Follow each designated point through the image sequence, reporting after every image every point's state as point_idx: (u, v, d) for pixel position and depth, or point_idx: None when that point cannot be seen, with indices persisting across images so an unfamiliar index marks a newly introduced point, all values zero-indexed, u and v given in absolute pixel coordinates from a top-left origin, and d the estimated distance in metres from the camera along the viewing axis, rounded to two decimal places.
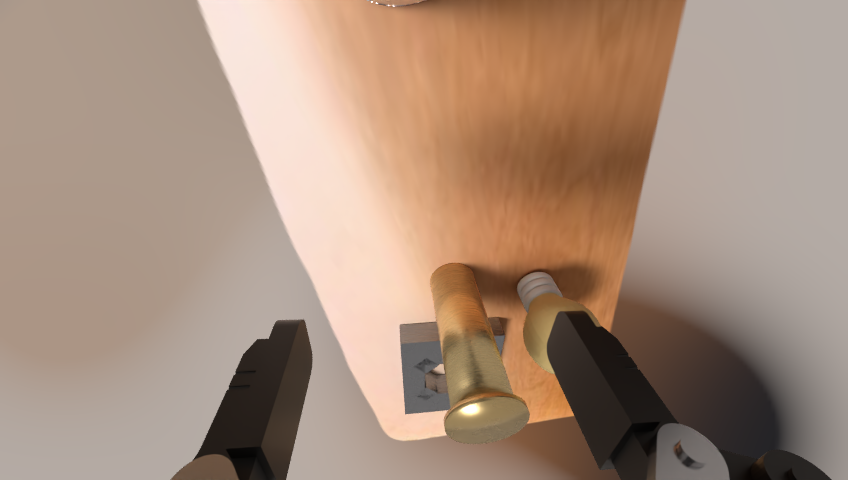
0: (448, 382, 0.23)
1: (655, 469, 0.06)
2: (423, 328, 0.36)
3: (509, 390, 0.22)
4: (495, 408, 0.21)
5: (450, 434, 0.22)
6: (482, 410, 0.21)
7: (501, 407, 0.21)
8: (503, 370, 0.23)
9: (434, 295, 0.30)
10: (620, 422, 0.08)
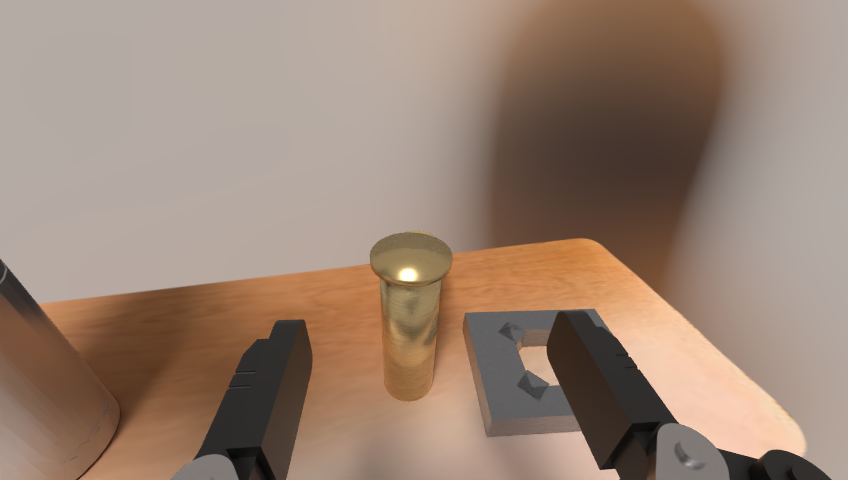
0: (405, 306, 0.22)
1: (655, 469, 0.06)
2: (481, 401, 0.28)
3: None
4: (384, 251, 0.23)
5: (428, 276, 0.21)
6: (385, 258, 0.22)
7: (383, 248, 0.23)
8: None
9: (402, 382, 0.27)
10: (620, 422, 0.08)
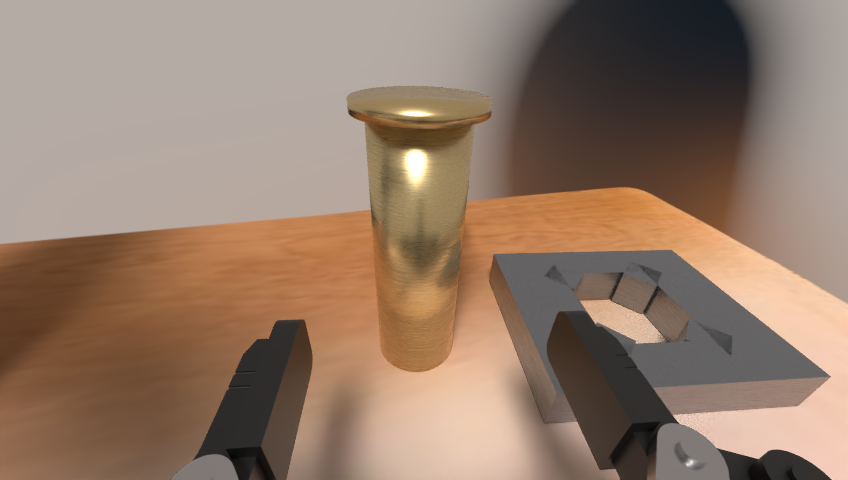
0: (411, 187, 0.13)
1: (655, 469, 0.06)
2: (529, 369, 0.18)
3: None
4: (373, 95, 0.13)
5: (454, 110, 0.11)
6: (374, 98, 0.12)
7: (371, 93, 0.13)
8: None
9: (407, 339, 0.17)
10: (620, 422, 0.08)
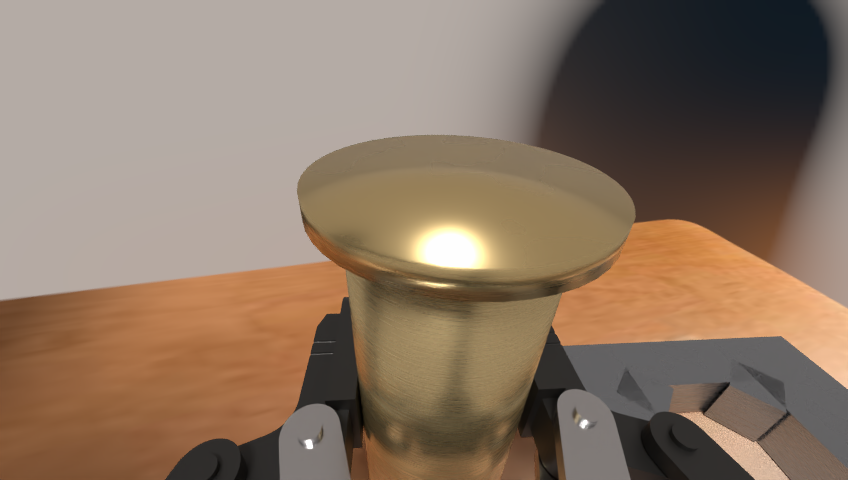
0: (442, 379, 0.06)
1: (561, 442, 0.07)
2: None
3: None
4: (360, 168, 0.06)
5: (574, 244, 0.04)
6: (362, 186, 0.05)
7: (356, 162, 0.06)
8: None
9: None
10: (532, 390, 0.08)
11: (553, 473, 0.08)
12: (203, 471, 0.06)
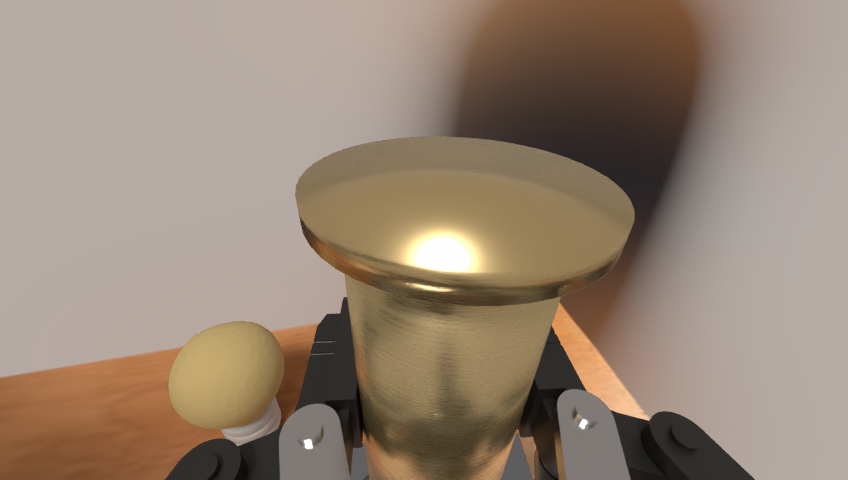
0: (441, 382, 0.06)
1: (561, 442, 0.07)
2: None
3: None
4: (359, 171, 0.06)
5: (573, 249, 0.04)
6: (360, 188, 0.05)
7: (355, 165, 0.06)
8: None
9: None
10: (532, 390, 0.08)
11: (553, 473, 0.08)
12: (203, 471, 0.06)
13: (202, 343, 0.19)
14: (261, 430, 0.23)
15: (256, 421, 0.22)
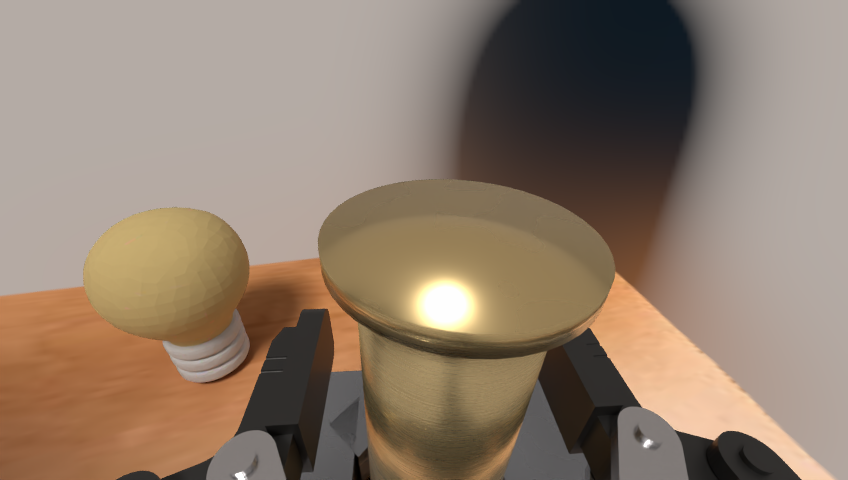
0: (444, 414, 0.06)
1: (618, 455, 0.07)
2: None
3: None
4: (372, 221, 0.07)
5: (560, 308, 0.05)
6: (375, 242, 0.06)
7: (368, 214, 0.07)
8: None
9: None
10: (586, 406, 0.08)
11: None
12: None
13: (132, 219, 0.15)
14: (219, 355, 0.18)
15: (211, 341, 0.17)
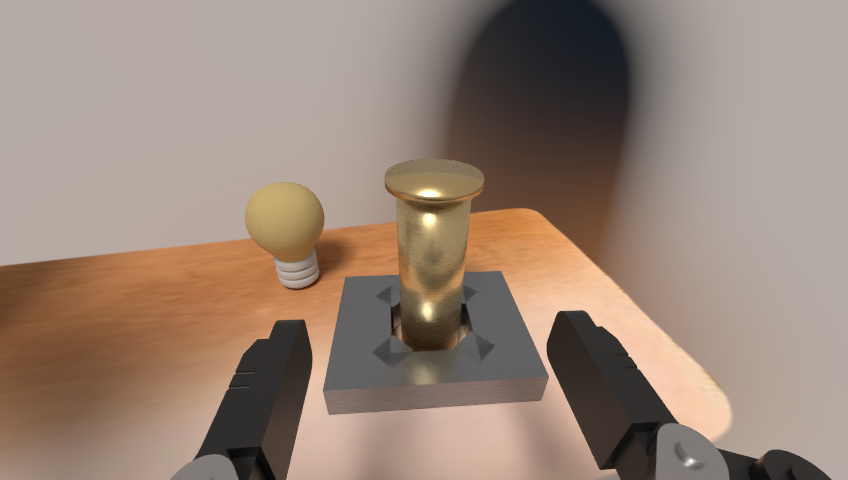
0: (429, 237, 0.18)
1: (655, 469, 0.06)
2: None
3: None
4: (402, 173, 0.19)
5: (458, 191, 0.17)
6: (404, 179, 0.18)
7: (399, 171, 0.19)
8: None
9: (424, 341, 0.23)
10: (620, 422, 0.08)
11: None
12: None
13: (269, 187, 0.27)
14: (306, 270, 0.30)
15: (303, 260, 0.30)
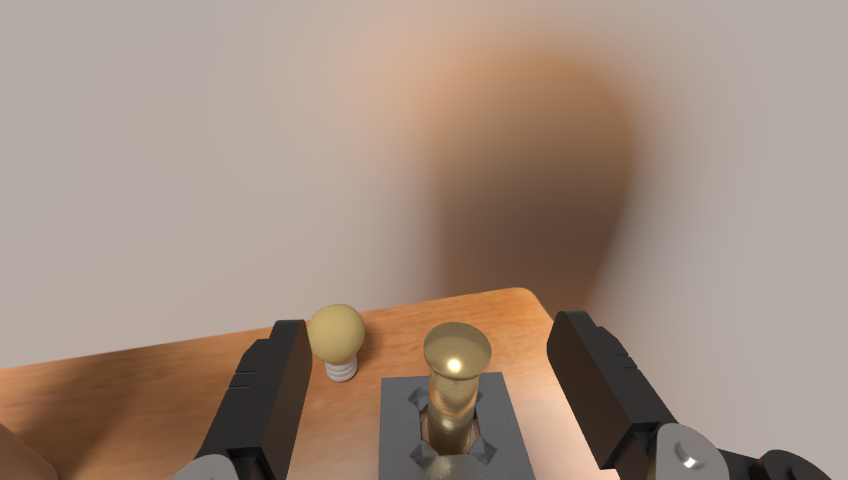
0: (454, 391, 0.27)
1: (655, 469, 0.06)
2: None
3: None
4: (435, 345, 0.28)
5: (475, 370, 0.26)
6: (437, 353, 0.27)
7: (433, 342, 0.28)
8: None
9: (446, 445, 0.32)
10: (620, 422, 0.08)
11: None
12: None
13: (326, 314, 0.36)
14: (349, 369, 0.39)
15: (348, 363, 0.38)
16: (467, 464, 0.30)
